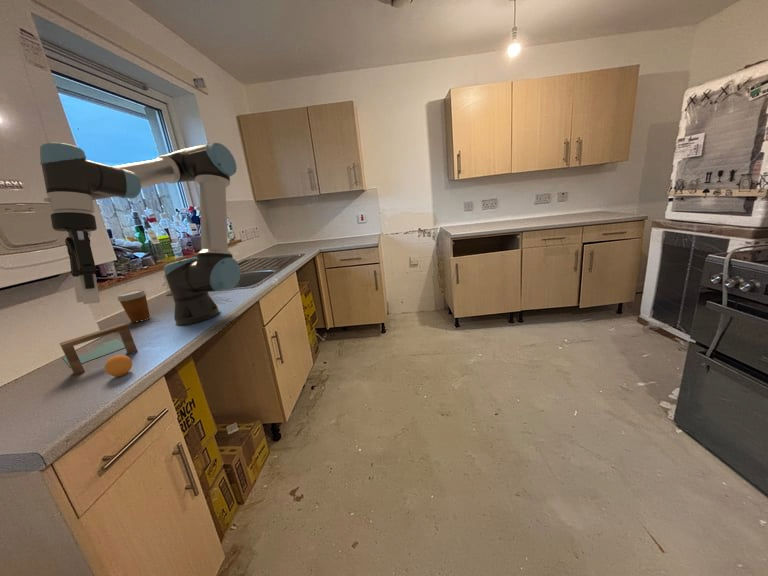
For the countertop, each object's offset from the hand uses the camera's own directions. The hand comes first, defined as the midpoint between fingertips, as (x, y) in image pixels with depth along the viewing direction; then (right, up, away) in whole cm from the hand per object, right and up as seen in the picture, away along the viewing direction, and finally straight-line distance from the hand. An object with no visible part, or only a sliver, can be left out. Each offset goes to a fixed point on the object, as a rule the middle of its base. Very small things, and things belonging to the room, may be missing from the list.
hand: (88, 302), depth 75 cm
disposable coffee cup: (-29, -10, +54) cm, 62 cm away
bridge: (-10, -18, +17) cm, 27 cm away
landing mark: (-21, -17, +25) cm, 37 cm away
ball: (+2, -17, +6) cm, 18 cm away
